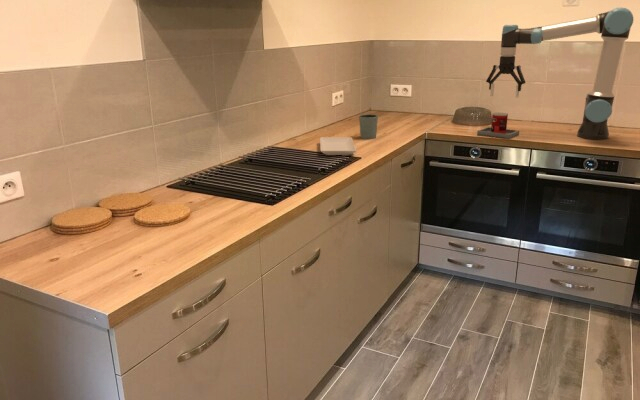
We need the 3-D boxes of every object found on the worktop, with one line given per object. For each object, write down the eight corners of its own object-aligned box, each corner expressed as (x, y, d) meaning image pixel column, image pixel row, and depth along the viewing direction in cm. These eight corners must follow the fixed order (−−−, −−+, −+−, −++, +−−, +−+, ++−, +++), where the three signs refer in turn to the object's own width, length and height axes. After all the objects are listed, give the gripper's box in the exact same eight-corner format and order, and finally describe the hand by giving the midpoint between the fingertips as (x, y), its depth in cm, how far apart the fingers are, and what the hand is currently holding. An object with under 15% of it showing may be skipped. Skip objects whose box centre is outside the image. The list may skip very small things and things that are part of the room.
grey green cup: (378, 136, 289) (379, 114, 285) (375, 140, 280) (376, 117, 276) (360, 135, 292) (361, 113, 288) (357, 139, 282) (357, 116, 279)
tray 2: (518, 135, 288) (519, 130, 287) (509, 139, 277) (510, 134, 277) (487, 131, 298) (487, 126, 298) (477, 135, 288) (477, 130, 287)
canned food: (492, 131, 293) (493, 112, 289) (507, 133, 289) (509, 113, 286) (489, 134, 286) (491, 114, 283) (504, 135, 283) (506, 115, 279)
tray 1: (351, 143, 275) (351, 136, 274) (356, 157, 245) (356, 150, 244) (319, 143, 275) (319, 136, 274) (320, 158, 245) (320, 150, 244)
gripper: (534, 55, 270) (530, 97, 277) (487, 55, 285) (484, 94, 292) (529, 56, 265) (525, 99, 271) (481, 55, 279) (478, 96, 286)
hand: (504, 96), depth 281 cm, fingers open, 13 cm apart
